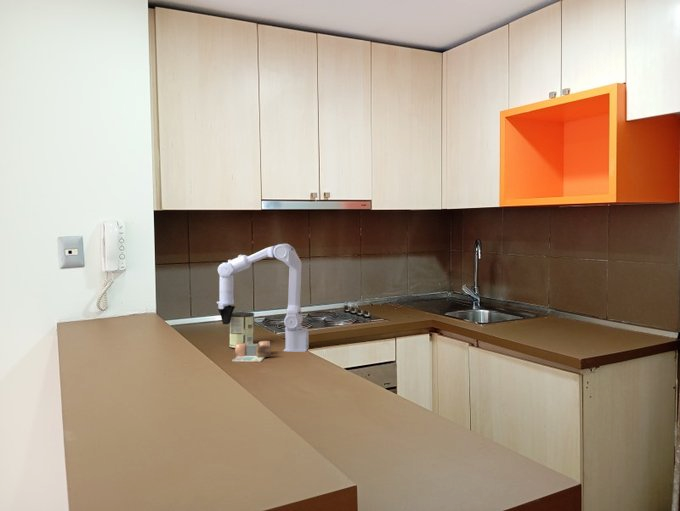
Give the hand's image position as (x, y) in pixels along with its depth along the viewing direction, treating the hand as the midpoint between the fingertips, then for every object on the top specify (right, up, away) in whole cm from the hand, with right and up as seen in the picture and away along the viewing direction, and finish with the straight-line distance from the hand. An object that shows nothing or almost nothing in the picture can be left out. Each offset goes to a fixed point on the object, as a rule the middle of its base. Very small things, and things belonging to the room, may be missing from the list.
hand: (226, 323), depth 226 cm
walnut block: (+18, -11, -15) cm, 25 cm away
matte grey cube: (+13, -11, -12) cm, 20 cm away
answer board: (+13, -11, -14) cm, 22 cm away
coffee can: (+5, -10, +5) cm, 13 cm away
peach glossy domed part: (+8, -11, -12) cm, 18 cm away
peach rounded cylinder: (+17, -11, -9) cm, 22 cm away
